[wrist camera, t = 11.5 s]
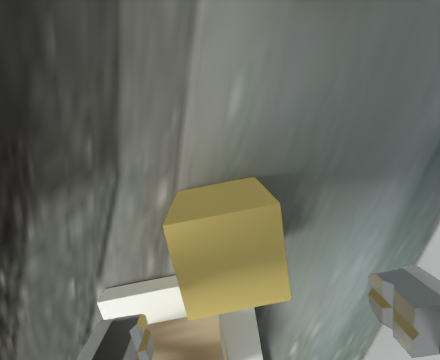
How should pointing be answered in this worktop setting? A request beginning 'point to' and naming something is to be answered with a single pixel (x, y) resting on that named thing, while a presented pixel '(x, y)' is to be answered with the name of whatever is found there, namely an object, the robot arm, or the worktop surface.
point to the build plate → (180, 313)
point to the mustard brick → (227, 247)
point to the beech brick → (188, 339)
